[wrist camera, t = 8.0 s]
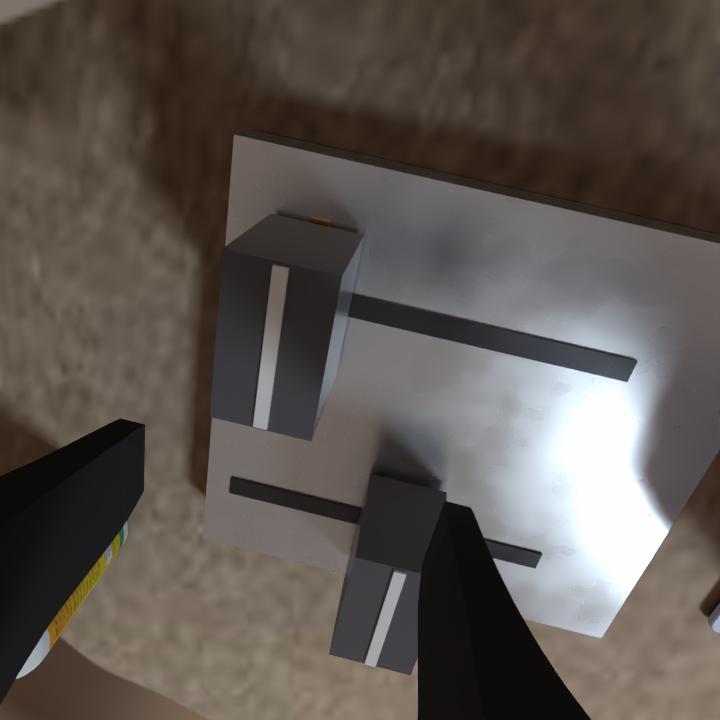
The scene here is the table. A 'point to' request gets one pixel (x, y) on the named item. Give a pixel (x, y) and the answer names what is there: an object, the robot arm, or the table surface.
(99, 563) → the supplement bottle
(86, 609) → the table surface
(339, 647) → the far fader
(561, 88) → the table surface
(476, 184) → the fader panel
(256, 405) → the block
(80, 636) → the table surface
